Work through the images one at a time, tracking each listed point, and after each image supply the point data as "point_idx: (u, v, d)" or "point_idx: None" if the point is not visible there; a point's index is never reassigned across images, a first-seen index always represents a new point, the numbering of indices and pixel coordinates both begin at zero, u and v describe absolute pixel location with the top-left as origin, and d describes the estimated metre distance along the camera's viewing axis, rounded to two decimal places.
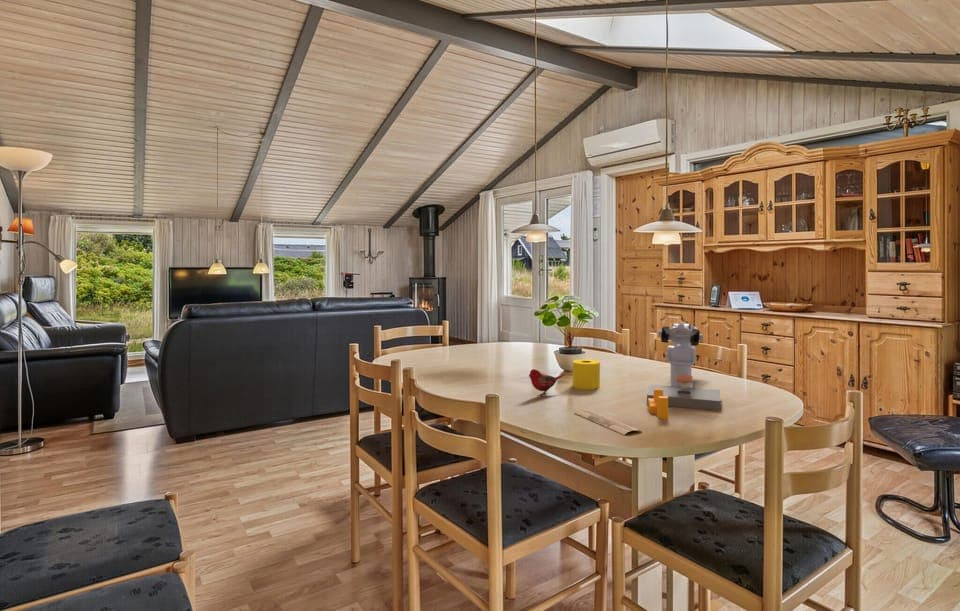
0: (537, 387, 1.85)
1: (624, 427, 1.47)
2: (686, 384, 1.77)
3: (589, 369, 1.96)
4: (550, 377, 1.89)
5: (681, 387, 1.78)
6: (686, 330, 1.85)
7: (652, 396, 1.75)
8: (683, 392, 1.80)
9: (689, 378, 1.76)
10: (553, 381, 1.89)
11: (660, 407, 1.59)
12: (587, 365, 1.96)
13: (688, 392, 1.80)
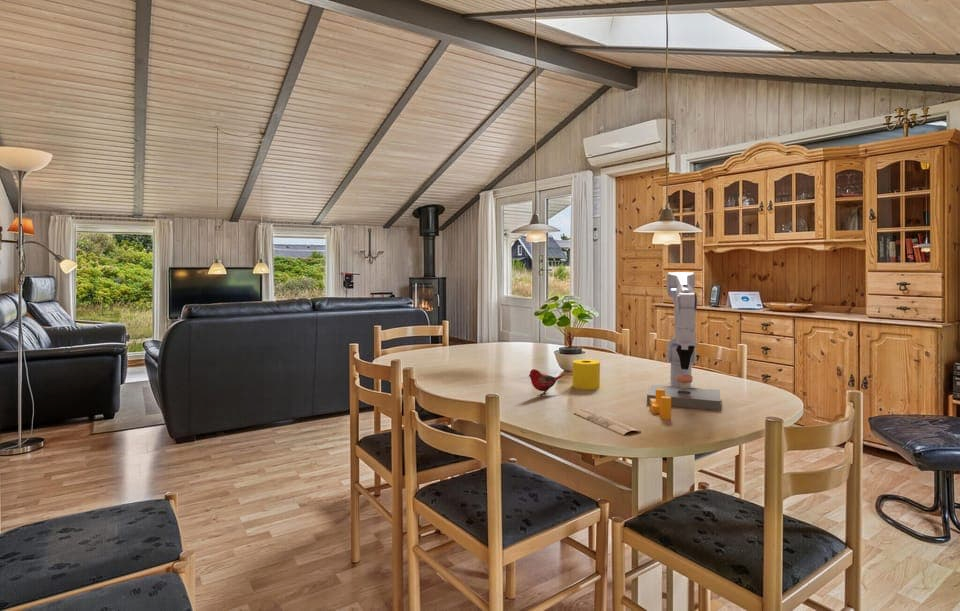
0: (537, 387, 1.85)
1: (623, 427, 1.47)
2: (686, 384, 1.77)
3: (589, 369, 1.96)
4: (550, 376, 1.89)
5: (681, 387, 1.78)
6: None
7: (652, 396, 1.75)
8: (683, 392, 1.80)
9: (689, 378, 1.76)
10: (553, 381, 1.89)
11: (663, 407, 1.58)
12: (587, 365, 1.96)
13: (688, 392, 1.80)
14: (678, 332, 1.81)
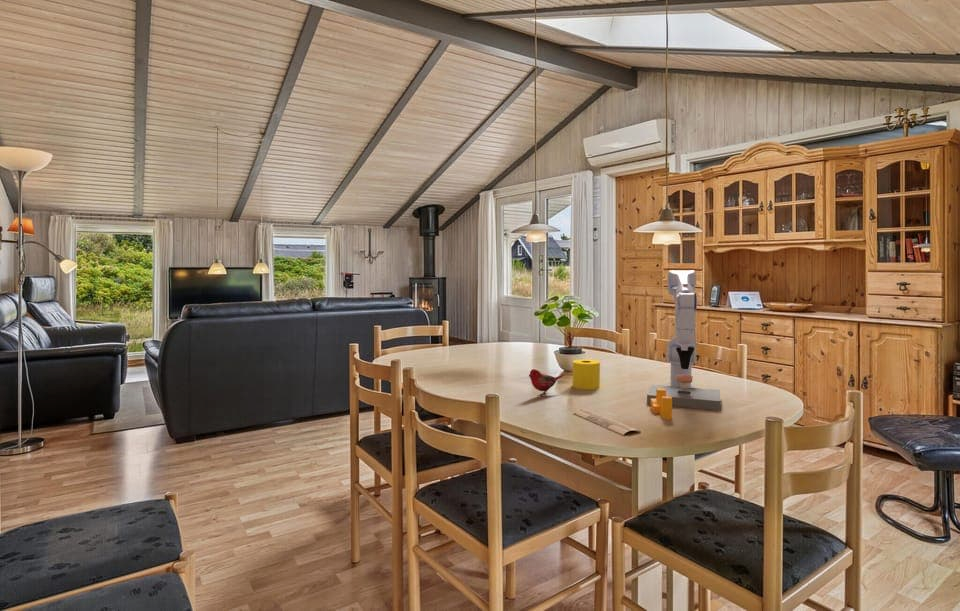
0: (537, 387, 1.85)
1: (623, 427, 1.47)
2: (686, 384, 1.77)
3: (589, 369, 1.96)
4: (550, 377, 1.89)
5: (681, 387, 1.78)
6: None
7: (652, 396, 1.75)
8: (683, 392, 1.80)
9: (689, 378, 1.76)
10: (553, 381, 1.89)
11: (664, 407, 1.58)
12: (587, 365, 1.96)
13: (688, 392, 1.80)
14: (678, 333, 1.78)
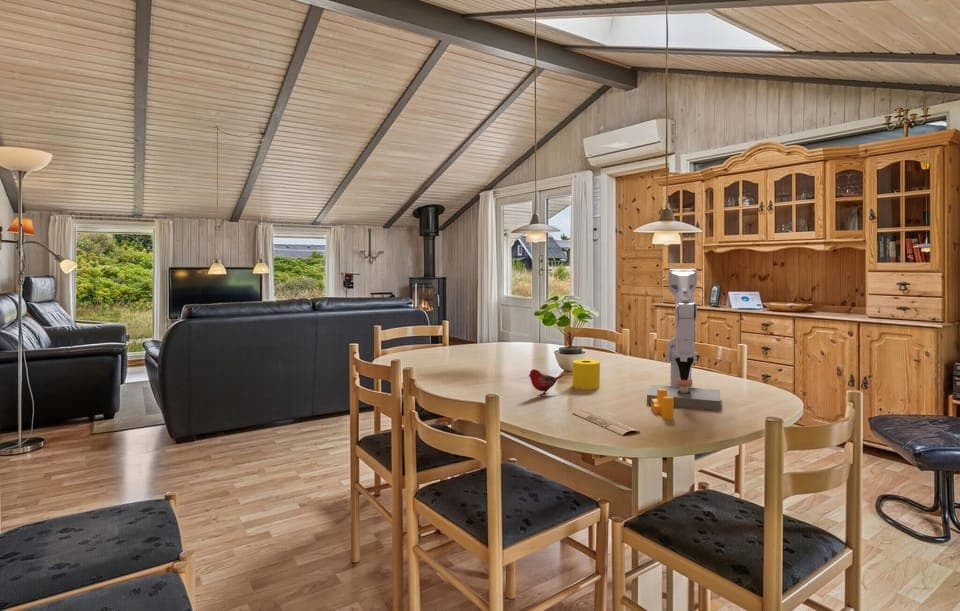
0: (537, 387, 1.85)
1: (622, 427, 1.47)
2: (686, 388, 1.77)
3: (589, 369, 1.96)
4: (550, 377, 1.89)
5: (681, 391, 1.78)
6: None
7: (652, 396, 1.75)
8: None
9: (689, 382, 1.76)
10: (553, 381, 1.89)
11: (665, 407, 1.58)
12: (587, 365, 1.96)
13: (688, 392, 1.80)
14: (677, 343, 1.76)
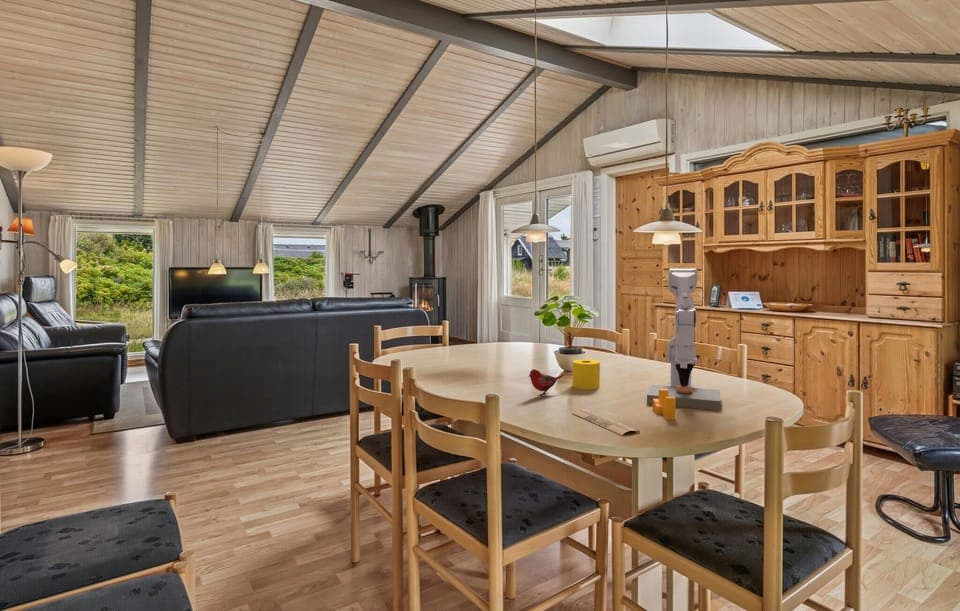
0: (537, 387, 1.85)
1: (622, 427, 1.47)
2: None
3: (589, 369, 1.96)
4: (550, 377, 1.89)
5: None
6: None
7: (652, 396, 1.75)
8: None
9: (689, 389, 1.76)
10: (553, 381, 1.89)
11: (667, 407, 1.58)
12: (587, 365, 1.96)
13: None
14: (677, 349, 1.77)
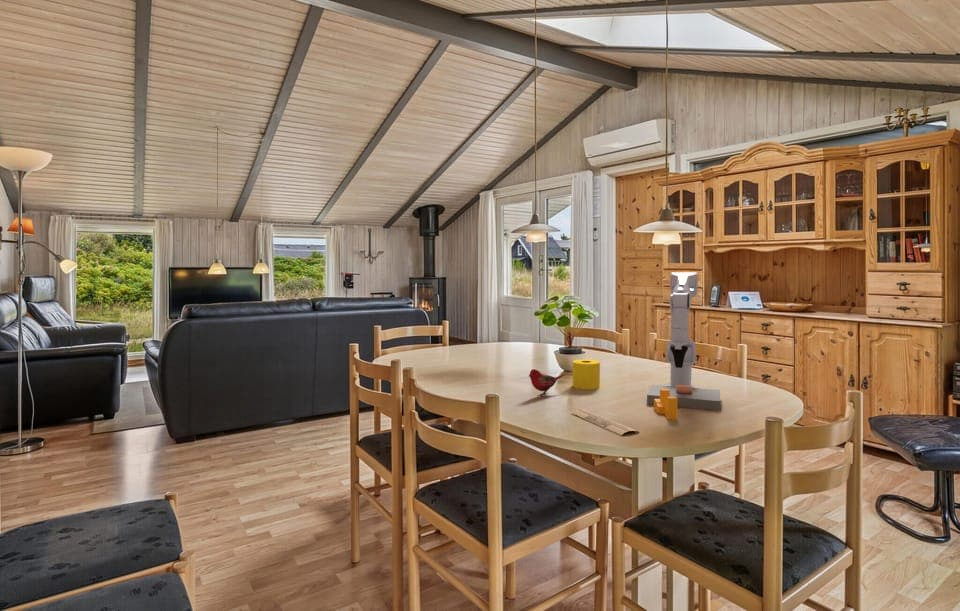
0: (537, 387, 1.85)
1: (621, 427, 1.47)
2: None
3: (589, 369, 1.96)
4: (550, 376, 1.89)
5: None
6: None
7: (652, 396, 1.75)
8: None
9: (689, 389, 1.76)
10: (553, 381, 1.89)
11: (669, 407, 1.58)
12: (587, 365, 1.96)
13: None
14: (672, 332, 1.82)
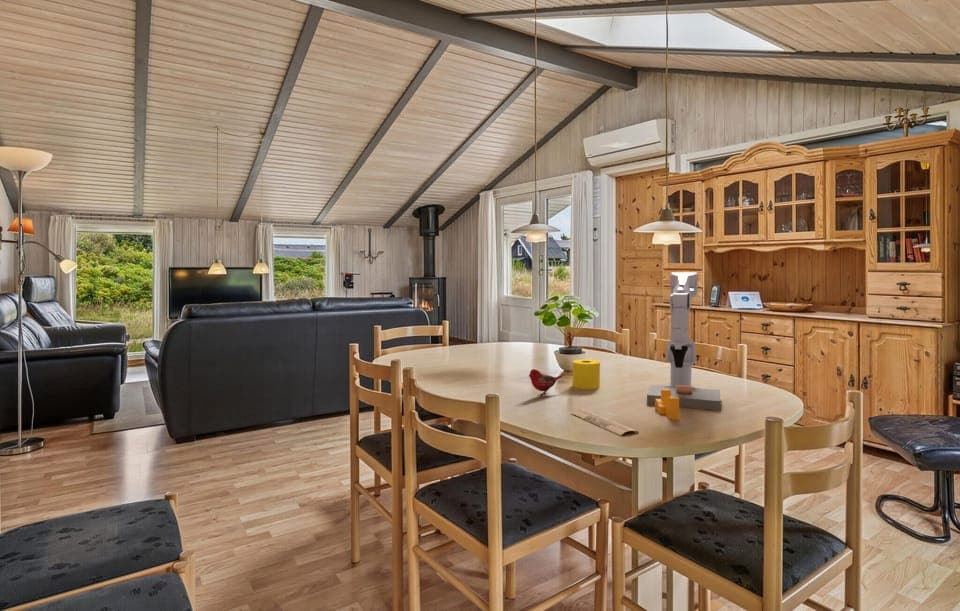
0: (537, 387, 1.85)
1: (620, 427, 1.47)
2: None
3: (589, 369, 1.96)
4: (550, 376, 1.89)
5: None
6: None
7: (652, 396, 1.75)
8: None
9: (689, 389, 1.76)
10: (553, 381, 1.89)
11: (671, 408, 1.58)
12: (587, 365, 1.96)
13: None
14: (672, 332, 1.82)
